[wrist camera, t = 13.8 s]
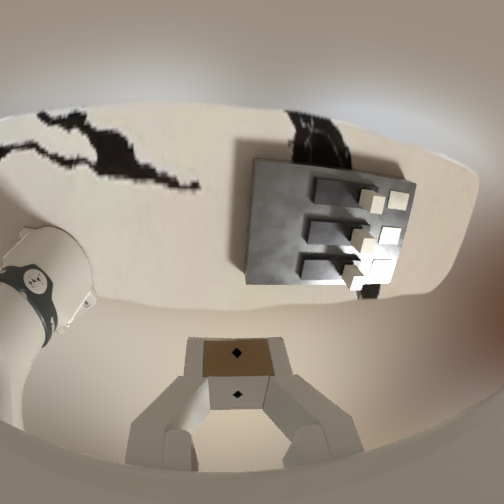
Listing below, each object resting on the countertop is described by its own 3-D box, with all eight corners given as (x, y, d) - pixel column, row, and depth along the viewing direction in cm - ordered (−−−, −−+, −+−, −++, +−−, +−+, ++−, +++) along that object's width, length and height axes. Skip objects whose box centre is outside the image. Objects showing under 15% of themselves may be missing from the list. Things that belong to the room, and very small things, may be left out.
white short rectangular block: (341, 278, 38) (349, 290, 35) (344, 264, 37) (353, 276, 34) (352, 278, 38) (360, 289, 35) (355, 264, 37) (365, 276, 34)
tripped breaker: (358, 205, 33) (370, 212, 30) (361, 188, 32) (373, 195, 30) (370, 206, 34) (381, 214, 31) (373, 190, 33) (385, 197, 30)
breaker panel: (244, 273, 41) (246, 288, 37) (253, 157, 34) (257, 161, 30) (381, 274, 44) (392, 286, 40) (405, 179, 37) (420, 185, 33)
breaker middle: (350, 243, 36) (360, 254, 33) (353, 228, 35) (364, 238, 32) (361, 244, 36) (371, 254, 33) (364, 229, 35) (375, 238, 32)
